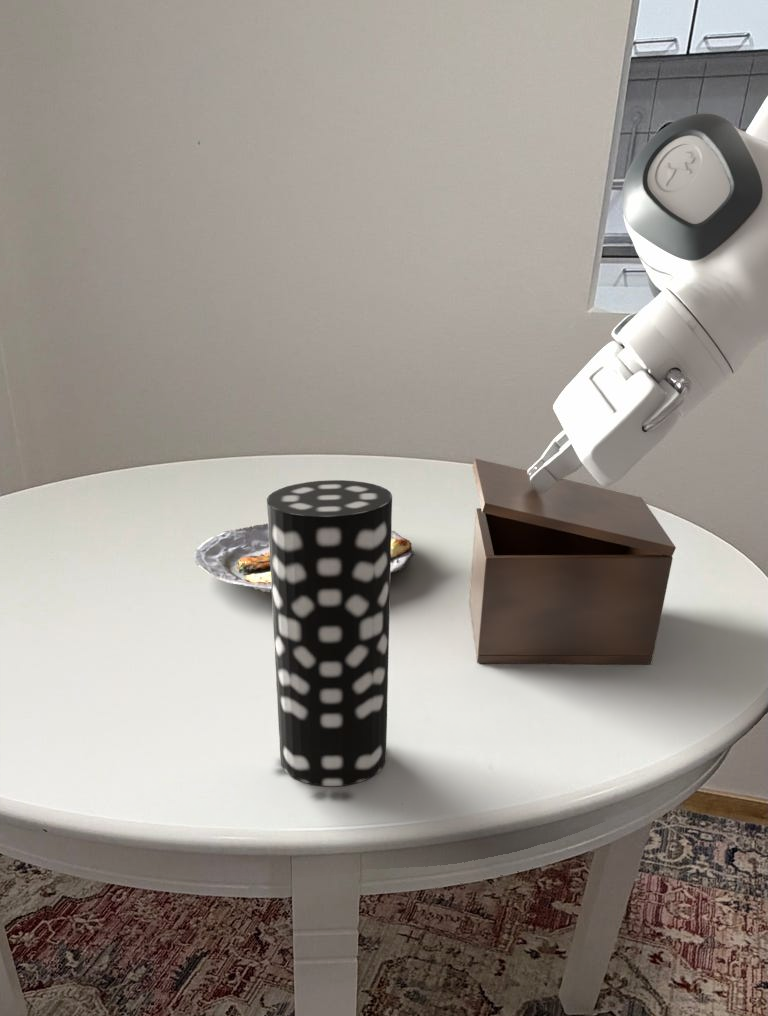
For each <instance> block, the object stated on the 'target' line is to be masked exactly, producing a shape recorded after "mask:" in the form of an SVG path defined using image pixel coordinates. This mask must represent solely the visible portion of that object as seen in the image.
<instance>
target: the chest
mask: <svg viewBox="0 0 768 1016" xmlns="http://www.w3.org/2000/svg"><path fill="white" fill-rule="evenodd" d="M474 518H475V519H474V529H473V530H474V532H473V544H472V545H473V546H472V557H471V558H472V559H471V570H470V584H469V598H468V606H469V607H468V608H469V615H470V621H471V627H472V628H471V629H472V637H473V642H474V651H475V656H476V657H475V658H476V664H556V665H557V664H560V665H561V664H563V665H564V664H567V665H569V664H572V665H573V664H575V665H576V664H577V665H578V664H579V665H584V664H585V665H652V663H653V658H654V653H655V648H656V643H657V638H658V634H659V628H660V624H661V620H662V619H661V618H662V613H663V608H664V605H665V604H664V603H665V599H666V593H667V590H668V589H667V588H668V583H669V579H670V575H671V570H672V569H671V568H672V563H673V559H674V558H673V555H672V556H668V555H663V554H659V553H655V552H651V551H646V550H642V549H638V548H633V547H629V546H625V545H620V544H616V543H612V542H607V541H603V540H599V539H595V538H590V537H586V536H582V535H577V534H573V533H569V532H564V531H560V530H556V529H552V528H547V527H543V526H539V525H534V524H530V523H526V522H521V521H517V520H513V519H508V518H504V517H500V516H496V515H491V514H487V513H483V512H482V510H481V507H479V508H476V509H475V517H474Z"/></svg>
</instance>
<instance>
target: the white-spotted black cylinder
mask: <svg viewBox="0 0 768 1016" xmlns="http://www.w3.org/2000/svg"><path fill="white" fill-rule="evenodd" d="M266 507H267V508H266V512H267V524H268V531H269V550H270V569H271V589H272V590H271V606H272V624H273V641H274V643H273V645H274V646H273V647H274V663H275V680H276V681H275V682H276V683H275V684H276V701H277V703H276V704H277V720H278V739H279V758H280V759H279V760H280V765H281V768H282V769H283V771H285V772H286V774H287V775H289V776H290V777H292V778H293V779H296V780H297V781H300V782H302V783H307V784H309V785H314V786H322V787H326V786H327V787H339V786H348V785H354V784H357V783H361V782H364V781H366V780H368V779H370V778H372V777H374V776H375V775H377V774H378V773H379V772H380V771H381V770H382V769H383V768H384V767H385V764H386V762H387V739H388V738H387V734H388V693H389V692H388V691H389V654H390V653H389V651H390V650H389V649H390V648H389V647H390V646H389V645H390V613H391V612H390V609H391V608H390V607H391V573H390V569H391V530H392V526H393V525H392V524H393V523H392V522H393V494H392V492H391V491H390V490H388V489H387V488H385V487H383V486H380V485H377V484H375V483H371V482H365V481H359V480H346V479H345V480H341V479H333V480H332V479H328V480H315V481H306V482H301V483H295V484H291V485H287V486H285V487H282V488H279V489H276V490H275V491H272V492H271V493H270V494H269V495H268V496H267V498H266Z"/></svg>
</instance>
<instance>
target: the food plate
mask: <svg viewBox="0 0 768 1016" xmlns="http://www.w3.org/2000/svg"><path fill="white" fill-rule="evenodd" d="M412 548H413V547H412V541H411V540H409V539H407V538H404V537H402V536H401V535H400V534H399V533H397V532H396V531H395V530H392V529H391V569H390V574H392V573H396V572H400V571H401V570H403V569H404V568H405V567H407V566H408V564H409V562H410V561H411V559H412V558H413V557H414V556H415V552H414V550H413V549H412ZM192 555H193V559H194V562H195V563H196V565H197V566H198V567H199V568H200V569H201V570H202V571H203V572H204V571H205V573H206V574H208V575H210V576H212V577H213V578H215V579H217V580H218V581H220V582H223V583H227V584H231V585H233V584H234V585H241V586H244V587H251V588H253V589H254V590H255V591H256V590H260V591H261V592H263V593H267V592H268V593H272V589H271V569H270V550H269V531H268V523H263V524H255V525H250V526H246V527H241V528H237V529H236V528H235V529H231V530H226V531H224V532H222V533H218V534H216V535H213V536H211V537H210V538H208V539H207V540H204V541H203V543H201V545H199V546H198V547H197V548H196V549H195V551H194V552H193V554H192Z"/></svg>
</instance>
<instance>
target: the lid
mask: <svg viewBox="0 0 768 1016" xmlns="http://www.w3.org/2000/svg"><path fill="white" fill-rule="evenodd" d="M472 469H473V476H474V480H475V485H476V490H477V495H478V500H479V504H480V508H481V510H482V512H483V513H487V514H491V515H496V516H500V517H504V518H508V519H513V520H517V521H521V522H526V523H530V524H534V525H539V526H543V527H547V528H552V529H556V530H560V531H564V532H569V533H573V534H577V535H582V536H586V537H590V538H595V539H599V540H603V541H607V542H612V543H616V544H620V545H625V546H629V547H633V548H638V549H642V550H646V551H651V552H655V553H659V554H663V555H668V556H672V557H673V555H674V553H675V551H676V549H677V546H676V545H675V544H674V542H673V541H672V539H671V537H669V535H668V534H667V532H666V531H665V529H664V528H663V525H661V524H660V522H659V521H658V519H657V518H656V516H655V515H654V513H653V512H652V510H651V509H650V508H649V505H647V503H646V502H645V500H644V499H643V497H641V496H637V495H633V494H628V493H624V492H619V491H617V490H611V489H607V488H604V487H603V488H602V487H598V486H595V485H589V484H586V483H585V484H584V483H581V482H577V481H573V480H569V479H564V478H563V479H561V480H559V481H557V482H556V483H554V484H553V485H552V486H551V487H550V488H549V489H548V490H547V491H546V492H544V493H539V492H537V490H536V489H535V488H534V487H533V486H532V485H531V483H530V480H529V477H528V474H527V471H528V470H525V469H522V468H518V467H514V466H510V465H509V466H508V465H505V464H501V463H496V462H493V461H487V460H483V459H479V458H474V460H473V463H472Z"/></svg>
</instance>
